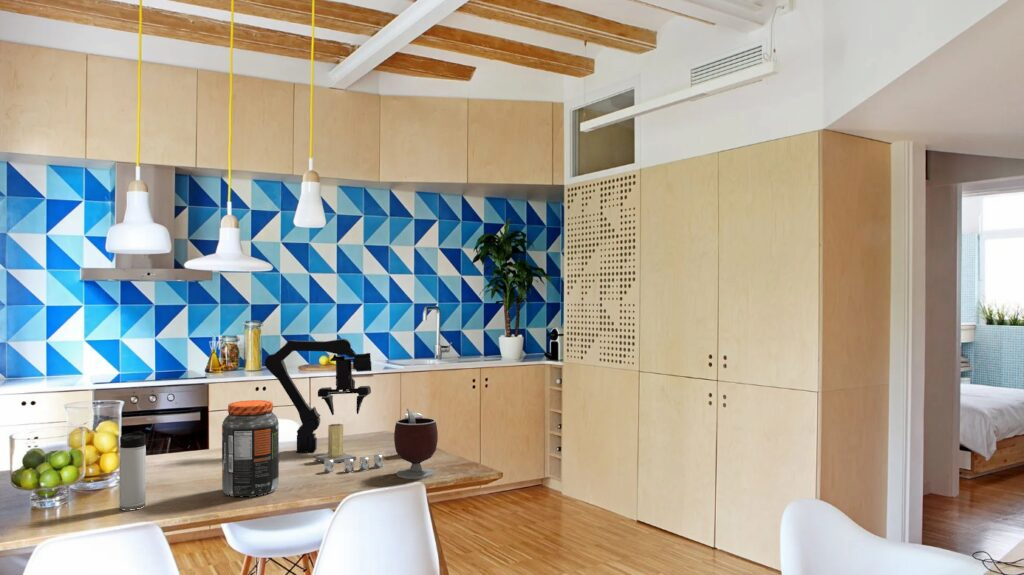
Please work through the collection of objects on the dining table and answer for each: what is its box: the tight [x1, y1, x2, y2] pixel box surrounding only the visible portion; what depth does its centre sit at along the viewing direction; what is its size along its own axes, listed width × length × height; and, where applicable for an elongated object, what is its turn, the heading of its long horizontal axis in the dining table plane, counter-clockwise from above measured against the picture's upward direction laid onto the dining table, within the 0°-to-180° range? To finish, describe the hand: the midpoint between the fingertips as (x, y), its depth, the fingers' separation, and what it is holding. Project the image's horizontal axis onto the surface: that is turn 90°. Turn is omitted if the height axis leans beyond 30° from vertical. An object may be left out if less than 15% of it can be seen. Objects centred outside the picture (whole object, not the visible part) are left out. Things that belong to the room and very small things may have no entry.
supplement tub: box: [221, 399, 280, 498], centre depth 217 cm, size 16×16×26 cm
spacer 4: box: [373, 453, 384, 469], centre depth 247 cm, size 3×3×4 cm
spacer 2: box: [343, 458, 355, 473], centre depth 241 cm, size 3×3×4 cm
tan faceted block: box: [327, 423, 344, 458], centre depth 258 cm, size 4×5×11 cm
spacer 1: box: [323, 459, 335, 473], centre depth 240 cm, size 3×3×4 cm
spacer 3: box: [359, 456, 370, 471], centre depth 244 cm, size 3×3×4 cm
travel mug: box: [118, 431, 147, 510], centre depth 200 cm, size 6×7×20 cm
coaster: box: [315, 452, 357, 464], centre depth 258 cm, size 10×10×1 cm
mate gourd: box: [393, 408, 439, 480], centre depth 238 cm, size 16×14×20 cm
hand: (345, 414), depth 275 cm, fingers open, 9 cm apart
